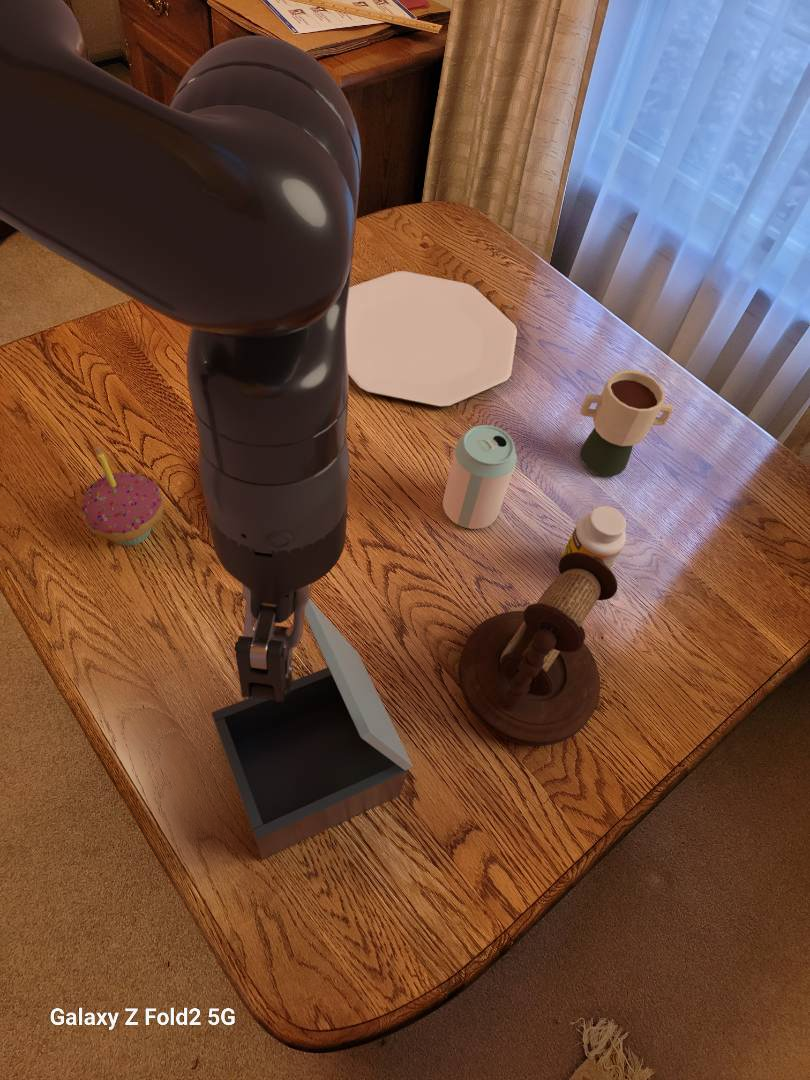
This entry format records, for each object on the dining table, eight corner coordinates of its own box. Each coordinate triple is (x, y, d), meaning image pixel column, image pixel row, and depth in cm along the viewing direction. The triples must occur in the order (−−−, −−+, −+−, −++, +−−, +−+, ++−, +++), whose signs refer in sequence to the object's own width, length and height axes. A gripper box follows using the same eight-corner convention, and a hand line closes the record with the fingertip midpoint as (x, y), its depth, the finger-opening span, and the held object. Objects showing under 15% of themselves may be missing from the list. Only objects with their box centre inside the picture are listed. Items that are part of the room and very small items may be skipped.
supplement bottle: (548, 560, 89) (573, 508, 80) (585, 545, 90) (613, 492, 82) (575, 597, 86) (603, 547, 78) (612, 580, 88) (644, 530, 79)
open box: (261, 860, 66) (256, 839, 60) (220, 743, 72) (211, 712, 66) (399, 796, 71) (408, 770, 65) (350, 690, 77) (354, 656, 70)
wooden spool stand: (501, 598, 85) (545, 489, 68) (615, 671, 81) (692, 574, 65) (429, 694, 77) (460, 597, 61) (552, 780, 73) (620, 701, 57)
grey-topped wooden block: (360, 737, 51) (370, 732, 51) (298, 601, 57) (307, 595, 57) (405, 770, 64) (413, 766, 64) (350, 656, 70) (358, 652, 70)
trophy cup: (638, 446, 101) (676, 374, 90) (644, 487, 97) (685, 416, 86) (559, 436, 100) (589, 363, 90) (562, 477, 96) (593, 405, 86)
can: (453, 479, 94) (469, 412, 84) (505, 499, 93) (528, 433, 83) (433, 519, 90) (448, 453, 81) (487, 540, 89) (509, 476, 80)
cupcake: (77, 523, 85) (47, 453, 75) (144, 488, 89) (123, 417, 79) (117, 573, 82) (90, 507, 72) (184, 534, 85) (167, 466, 76)
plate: (303, 385, 101) (303, 377, 100) (348, 267, 117) (349, 259, 116) (502, 426, 101) (504, 418, 99) (520, 302, 116) (522, 294, 115)
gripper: (236, 385, 43) (254, 543, 56) (168, 594, 35) (209, 722, 48) (364, 403, 43) (353, 556, 57) (327, 615, 35) (324, 736, 48)
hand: (286, 632), depth 52 cm, fingers open, 8 cm apart
